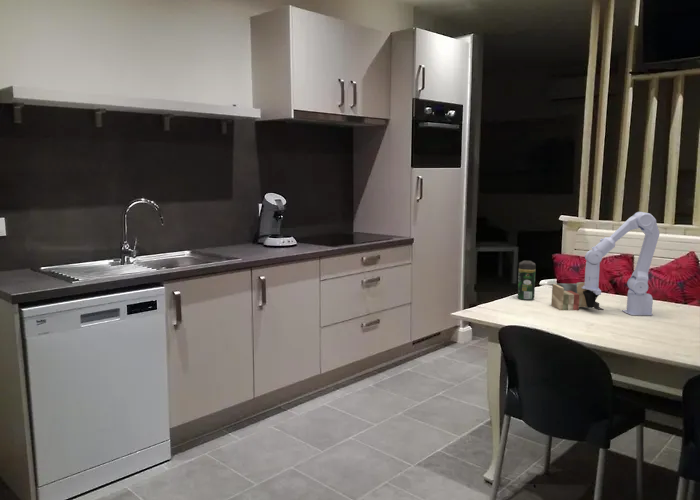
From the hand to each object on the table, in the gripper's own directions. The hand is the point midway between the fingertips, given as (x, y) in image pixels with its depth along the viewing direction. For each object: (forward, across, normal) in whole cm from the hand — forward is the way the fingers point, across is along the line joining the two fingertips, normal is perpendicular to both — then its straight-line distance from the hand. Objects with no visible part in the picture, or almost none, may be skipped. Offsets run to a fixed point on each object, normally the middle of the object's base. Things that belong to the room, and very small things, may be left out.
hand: (590, 307), depth 243 cm
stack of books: (+1, -6, -3) cm, 7 cm away
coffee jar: (+2, -25, -20) cm, 32 cm away
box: (+1, -4, 0) cm, 4 cm away
